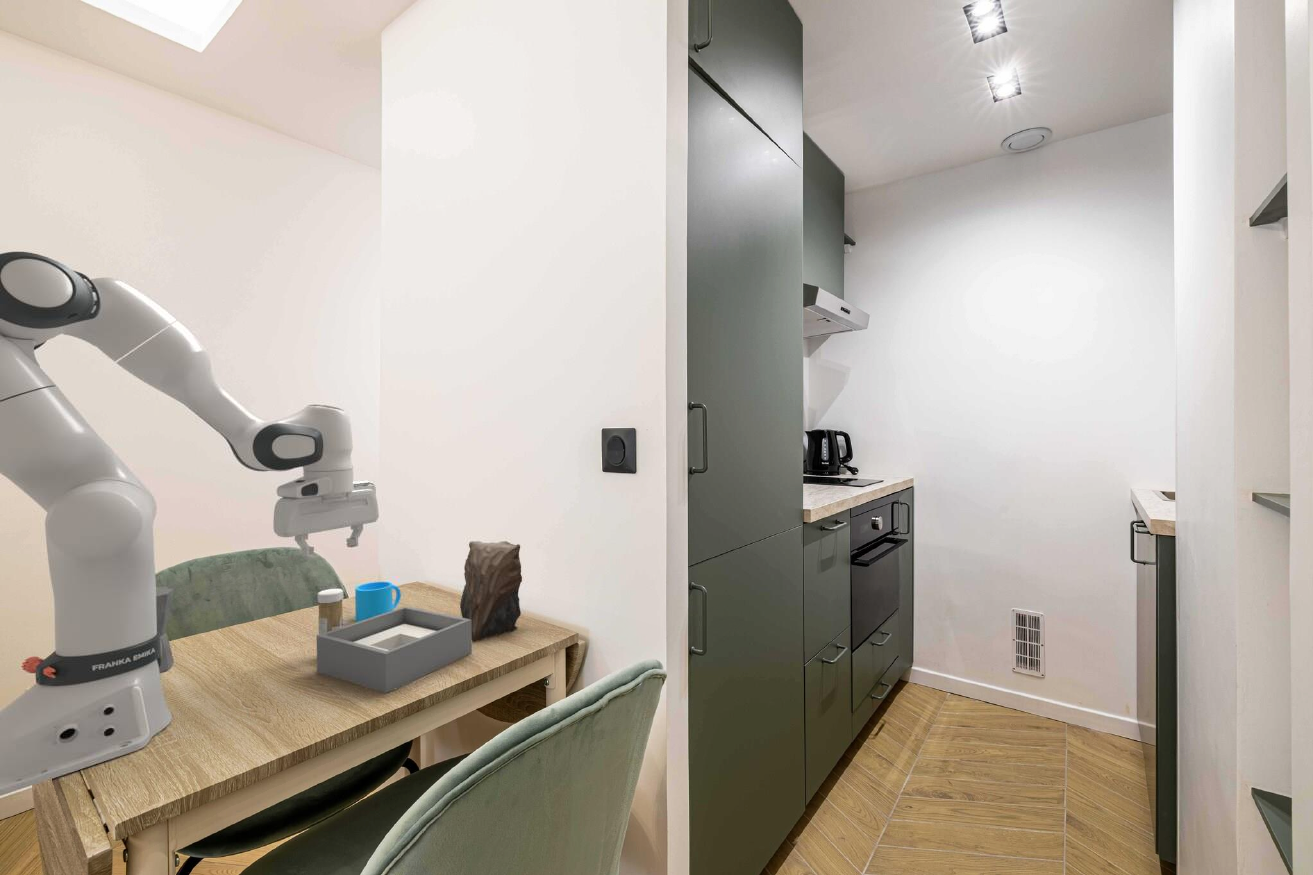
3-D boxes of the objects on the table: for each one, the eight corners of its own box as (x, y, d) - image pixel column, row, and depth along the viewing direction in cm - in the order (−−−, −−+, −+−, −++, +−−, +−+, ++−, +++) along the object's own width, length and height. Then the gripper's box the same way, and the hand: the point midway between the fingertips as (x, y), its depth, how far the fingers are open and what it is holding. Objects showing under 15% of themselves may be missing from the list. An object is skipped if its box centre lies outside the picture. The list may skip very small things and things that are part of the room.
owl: (458, 625, 133) (458, 541, 133) (511, 616, 139) (510, 536, 139) (470, 642, 122) (469, 551, 122) (527, 631, 128) (526, 544, 128)
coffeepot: (144, 658, 114) (142, 571, 114) (193, 656, 115) (192, 569, 115) (73, 694, 99) (71, 592, 98) (131, 691, 100) (129, 591, 99)
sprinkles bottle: (344, 657, 114) (344, 591, 114) (318, 662, 112) (318, 595, 112) (343, 649, 118) (342, 586, 118) (317, 654, 116) (317, 590, 115)
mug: (372, 626, 132) (371, 592, 132) (347, 622, 136) (347, 588, 136) (412, 611, 144) (411, 579, 143) (388, 607, 147) (388, 576, 147)
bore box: (386, 693, 98) (385, 654, 98) (317, 671, 107) (316, 635, 107) (471, 653, 116) (471, 619, 116) (406, 637, 125) (405, 606, 125)
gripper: (365, 479, 125) (367, 540, 126) (267, 488, 107) (269, 560, 107) (384, 479, 122) (386, 542, 123) (286, 490, 104) (289, 563, 104)
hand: (330, 551), depth 115 cm, fingers open, 8 cm apart
